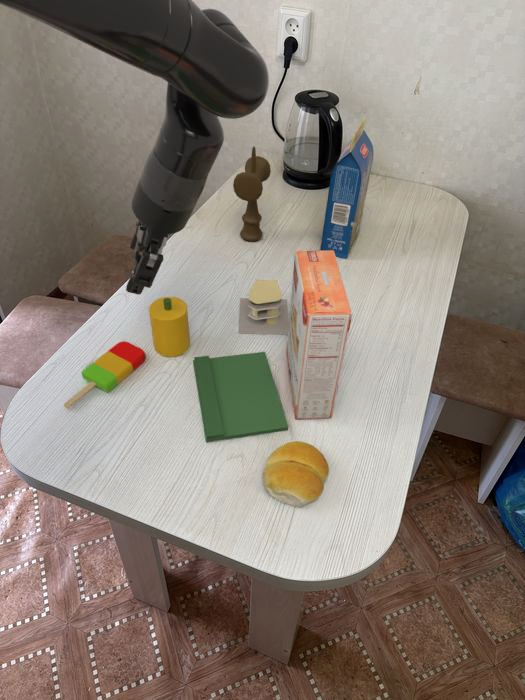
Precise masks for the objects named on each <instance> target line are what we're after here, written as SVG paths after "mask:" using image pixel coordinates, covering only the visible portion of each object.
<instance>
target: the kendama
mask: <svg viewBox="0 0 525 700" xmlns="http://www.w3.org/2000/svg"><path fill="white" fill-rule="evenodd" d="M256 152H257V150H256V147H255V146H252V149H251V157H248V158H247V160H246V162H245V165H244V171H242V172H240V173H237V174H236V176H235V177H234V180H233V183H232V188H233V192H234V194H235V195H236V197H237V198H239V199H240V200H242V201H244V202H247V203H246V209H245V212H244V214H242V216H241V220H242V222H243V226H242V229H241V230H240V232H239V237H240V238H241V239H242V240H245V241H248V242H256V241H257V242H258V241H259V240H260V239H262V238H263V235H264V234H263V231H262V228H261V225H260V223H261V221H262V220H263V219H262V218H263V216H262V214H261V213H260V212H259V205H258V200H259V199H260V197H261V196H262V194H263V190H264V186H263V182H266V181H268V179H269V178H270V176H271V172H272V170H271V165H270V162H269V160H267V159H266V158H265V157H262V156H259V155H257V153H256Z"/></svg>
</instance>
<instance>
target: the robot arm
mask: <svg viewBox="0 0 525 700" xmlns="http://www.w3.org/2000/svg"><path fill="white" fill-rule="evenodd" d="M0 6H3V7H6V8H9V9H11V10H14V11H15V12H18V13H20V14H22V15H24V16H27V17H30V18H31V19H34V20H36V21H37V22H41V23H42V24H45V25H47V26H48V27H51V28H52V29H55V30H57V31H59V32H61V33H63V34H65V35H68V36H70V37H72V39H75V40H77V41H80V42H81V43H84V44H86V45H87V46H90V47H91V48H93V49H96V50H98V51H100V52H102V53H104V54H106V55H108V56H110V57H112V58H115V59H117V60H119V61H120V62H123V63H125V64H127V65H130V66H131V67H134V68H136V69H138V70H141V71H142V72H145V73H147V74H149V75H152V76H153V77H157V78H160V79H162V80H164V81H165V82H166V83H167V86H166V93H165V94H166V95H165V114H164V115H165V116H164V119H163V121H162V124H161V127H160V129H159V132H158V135H157V137H156V139H155V143H154V144H153V145H154V146H153V148H152V150H151V151H150V153H149V154H148V156H147V158H146V161H145V163H144V166H143V169H142V171H141V174H140V177H139V180H138V183H137V186H136V188H135V191H134V193H133V196H132V198H131V199H132V200H131V209H132V212H133V214H134V217H136V222H135V232H134V235H133V236H132V239H131V242H130V249H131V250H133V253H132V258H133V260H134V265H133V268H132V270H131V275H130V277H129V279H128V281H127V284H126V288H125V291H126V292H127V293H130V294H134V295H137V296H138V295H141V294H142V293H143V292H144V289H145V288H148V289H151V288H152V286H153V284H154V282H155V281H154V280H155V279H156V276H157V274H158V272H159V270H160V267H161V265H162V263H163V262H164V254H162V253H163V249H164V247H165V246H166V245H167V242H168V238H169V235H172V234H177V233H180V232H181V231H182V230H184V229H185V227H186V226H187V224H188V222H189V220H190V217H191V216H192V213H193V211H194V209H195V207H196V205H197V203H198V201H199V199H200V197H201V195H202V193H203V191H204V188H205V186H206V183H207V180H208V176H209V174H210V172H211V170H212V168H213V166H214V164H215V163H216V162H215V161H216V160H217V158H218V156H219V153H220V151H221V149H222V146H223V144H224V141H225V131H224V128H223V125H222V123H221V120H220V118H223V119H229V120H236V119H241V118H244V117H248V116H249V115H250V114H252V113H254V112H255V111H256V110H257V109H258V108H260V106H261V105H262V104H263V102H264V101H265V99H266V97H267V95H268V94H267V93H268V91H269V85H270V75H269V69H268V65H267V64H266V62H265V59H264V58H263V56H262V55H261V54H260V53H259V51H258V50H257V49H256V47H254V45H253V44H252V43H251V42H250V41H249V40H248V38H247V37H246V36H245V35H244V34H243V33H242V31H241V30H240V29H239V28H238V27H237V26H236V25H235V23H234V22H233V21H232V20H231V19H230V17H228V15H226V14H224V13H223V12H222V11H220V10H218V9H214V8H205V9H201V8H200V7H199V6H198V5H197V4H196V3H195V1H194V0H0ZM219 117H220V118H219ZM140 253H141V254H140Z"/></svg>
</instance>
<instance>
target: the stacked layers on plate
mask: <svg viewBox="0 0 525 700" xmlns="http://www.w3.org/2000/svg"><path fill="white" fill-rule="evenodd" d="M288 307H289V306H288V299H287V298H283V293H282V289H281V286H280V283H279V280H278V279H255V280H254V283H253V285H252V286H251V288H250V290H249V292H248V294H247V297H240V298H239V309H238V310H239V311H238V315H239V316H238V334H249V335H250V334H253V335H254V334H256V335H288V329H289V308H288Z"/></svg>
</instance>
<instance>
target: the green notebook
mask: <svg viewBox="0 0 525 700" xmlns="http://www.w3.org/2000/svg"><path fill="white" fill-rule="evenodd" d="M192 364H193V371H194V377H195V383H196V389H197V395H198V402H199V407H200V413H201V419H202V426H203V432H204V438H205V443H211V442H218V441H225V440H233V439H239V438H244V437H246V438H247V437H251V436H258V435H265V434H273V433H278V432H285V431H289V424H288V421H287V419H286V418H287V417H286V414H285V411H284V408H283V405H282V402H281V398H280V395H279V392H278V390H277V389H278V388H277V386H276V383H275V380H274V377H273V372H272V370H271V366H270V363H269V360H268V357H267V354H266V351H259V352H249V353H241V354H240V353H239V354H233V355H224V356H218V357H217V356H216V357H210V356H209V355H201V356H194V357H193V359H192Z"/></svg>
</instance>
